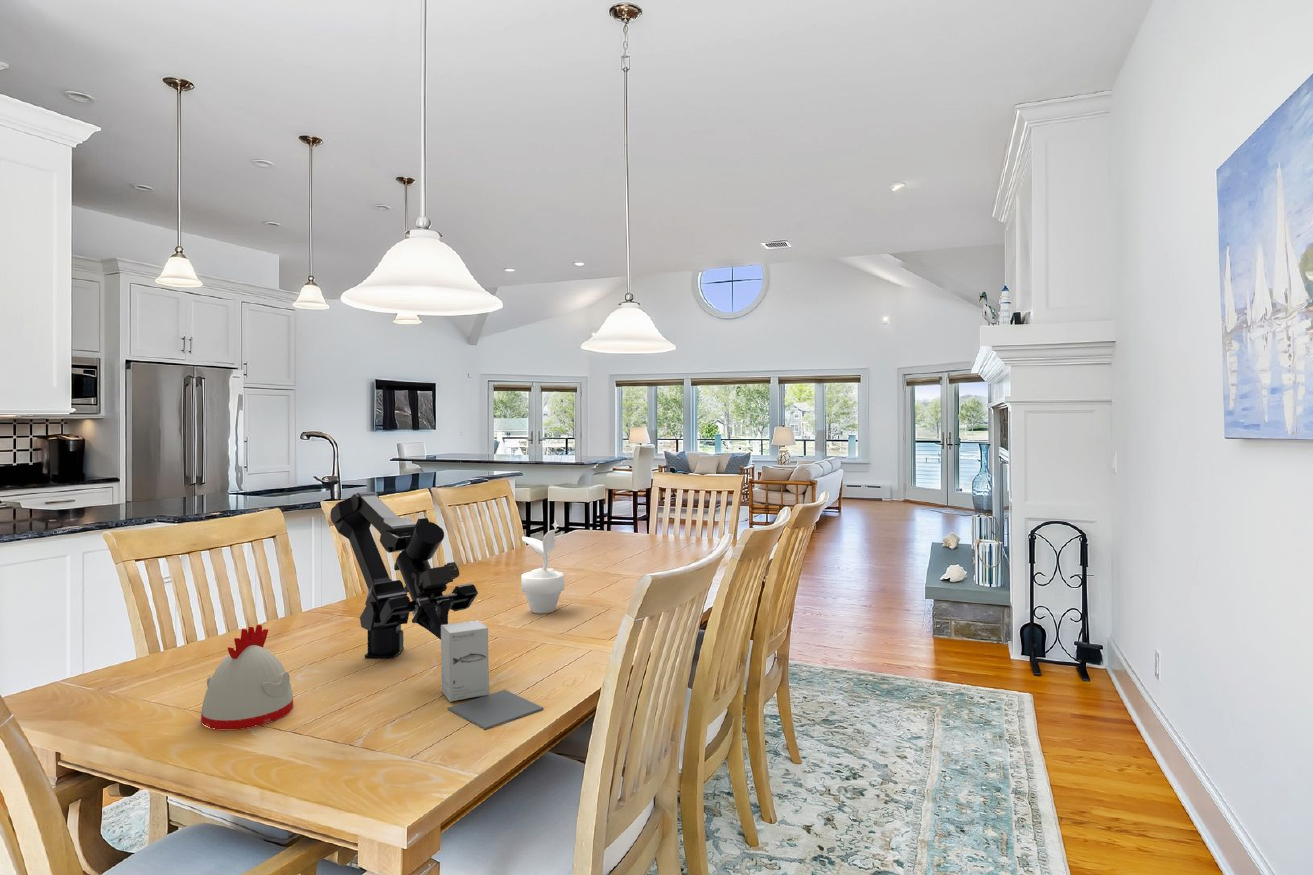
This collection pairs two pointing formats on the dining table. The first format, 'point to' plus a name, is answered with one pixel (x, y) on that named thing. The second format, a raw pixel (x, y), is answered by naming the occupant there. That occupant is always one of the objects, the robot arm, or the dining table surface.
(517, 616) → the dining table surface
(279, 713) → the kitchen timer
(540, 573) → the potted plant
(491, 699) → the mat
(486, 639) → the supplement box
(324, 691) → the dining table surface
